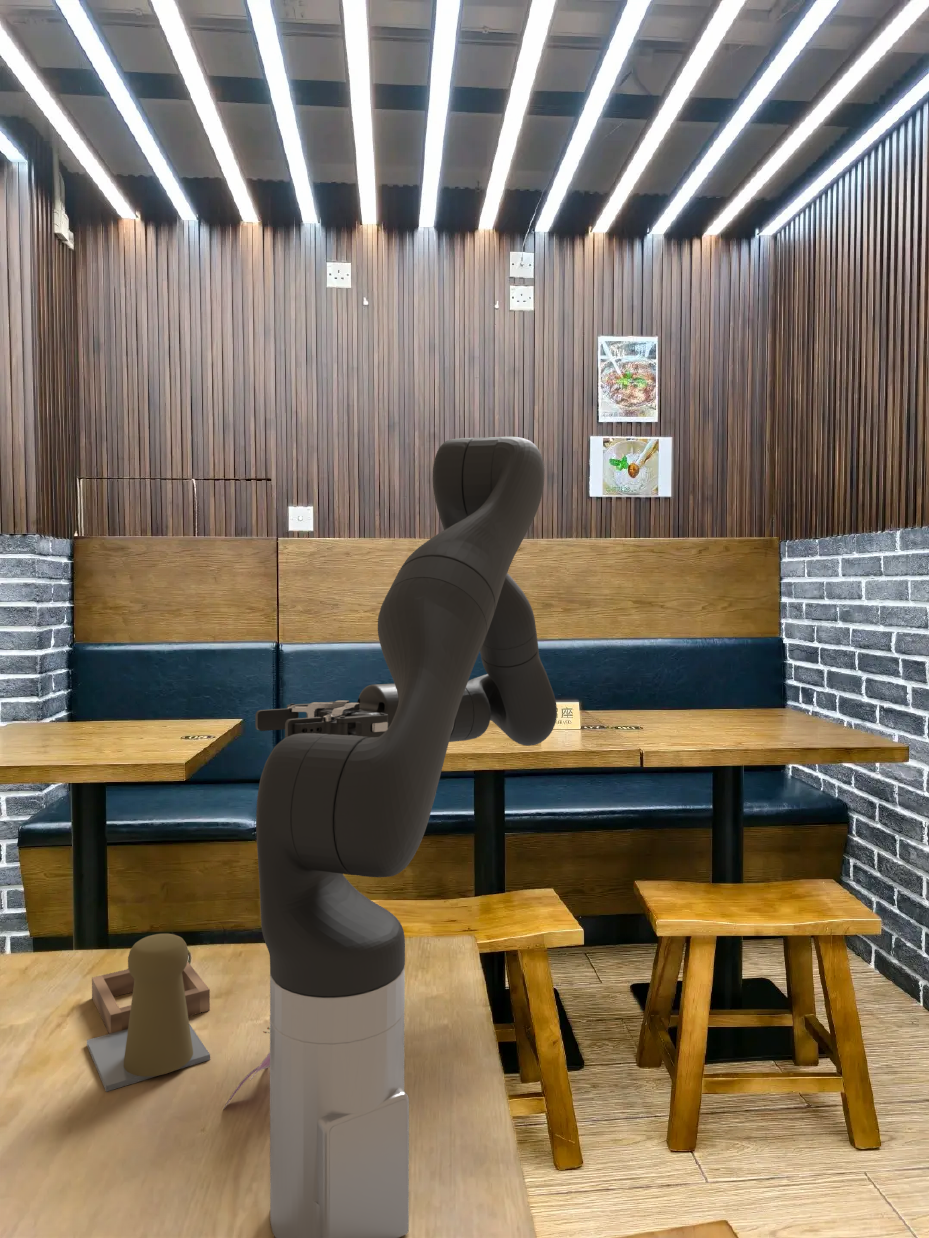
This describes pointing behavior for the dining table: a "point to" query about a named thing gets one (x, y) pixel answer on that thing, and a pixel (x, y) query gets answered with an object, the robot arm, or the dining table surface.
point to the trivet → (112, 1052)
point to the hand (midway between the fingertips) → (270, 725)
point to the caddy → (124, 983)
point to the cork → (158, 1007)
